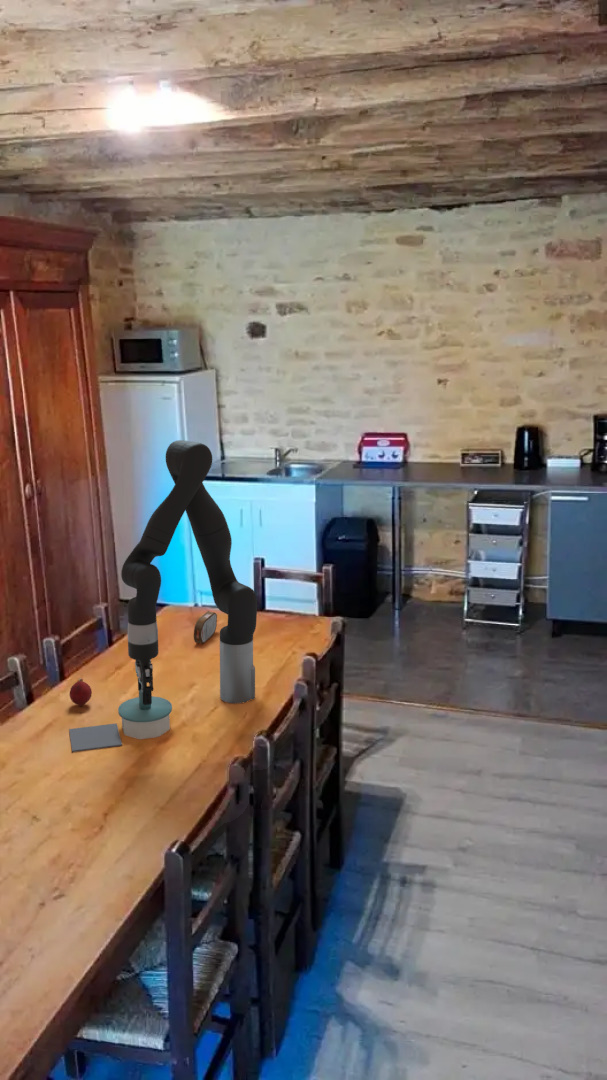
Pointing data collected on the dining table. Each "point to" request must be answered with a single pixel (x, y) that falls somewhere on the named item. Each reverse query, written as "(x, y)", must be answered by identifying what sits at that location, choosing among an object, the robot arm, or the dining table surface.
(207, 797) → the dining table surface
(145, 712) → the lid
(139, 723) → the bowl
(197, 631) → the tin
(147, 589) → the robot arm
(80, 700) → the onion
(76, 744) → the mat
